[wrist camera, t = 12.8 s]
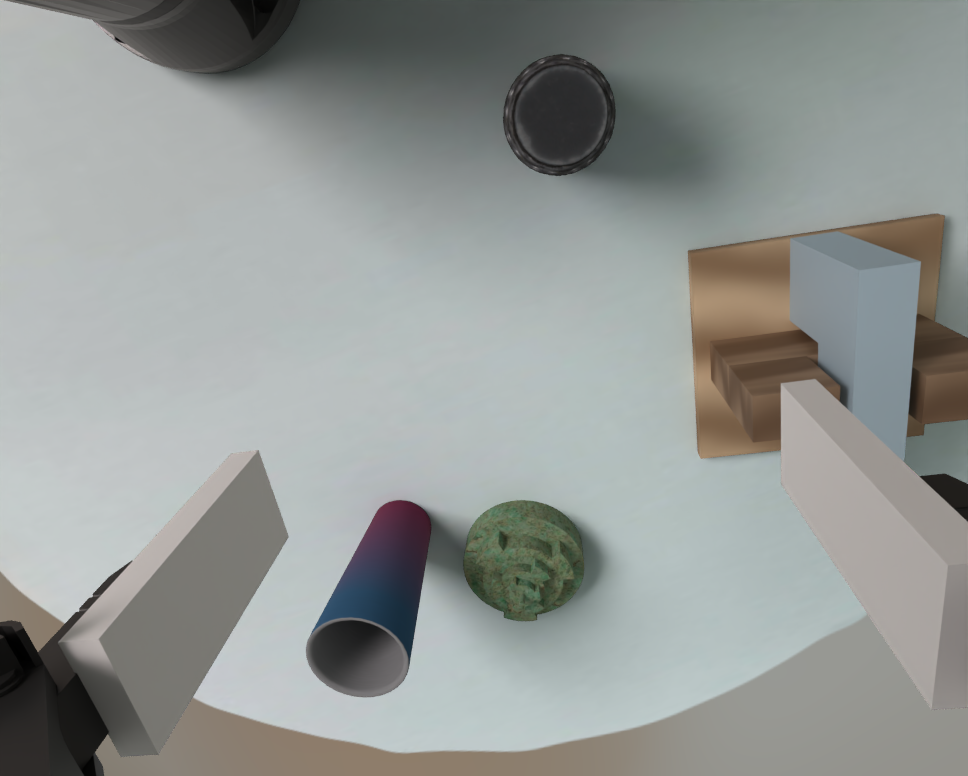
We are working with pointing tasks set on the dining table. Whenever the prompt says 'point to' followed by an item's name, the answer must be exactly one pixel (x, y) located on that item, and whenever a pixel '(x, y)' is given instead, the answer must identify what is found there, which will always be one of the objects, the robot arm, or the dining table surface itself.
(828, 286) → the slotted plate
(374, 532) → the cup
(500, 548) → the decorative artifact
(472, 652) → the dining table surface
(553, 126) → the pill bottle
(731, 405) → the jig
